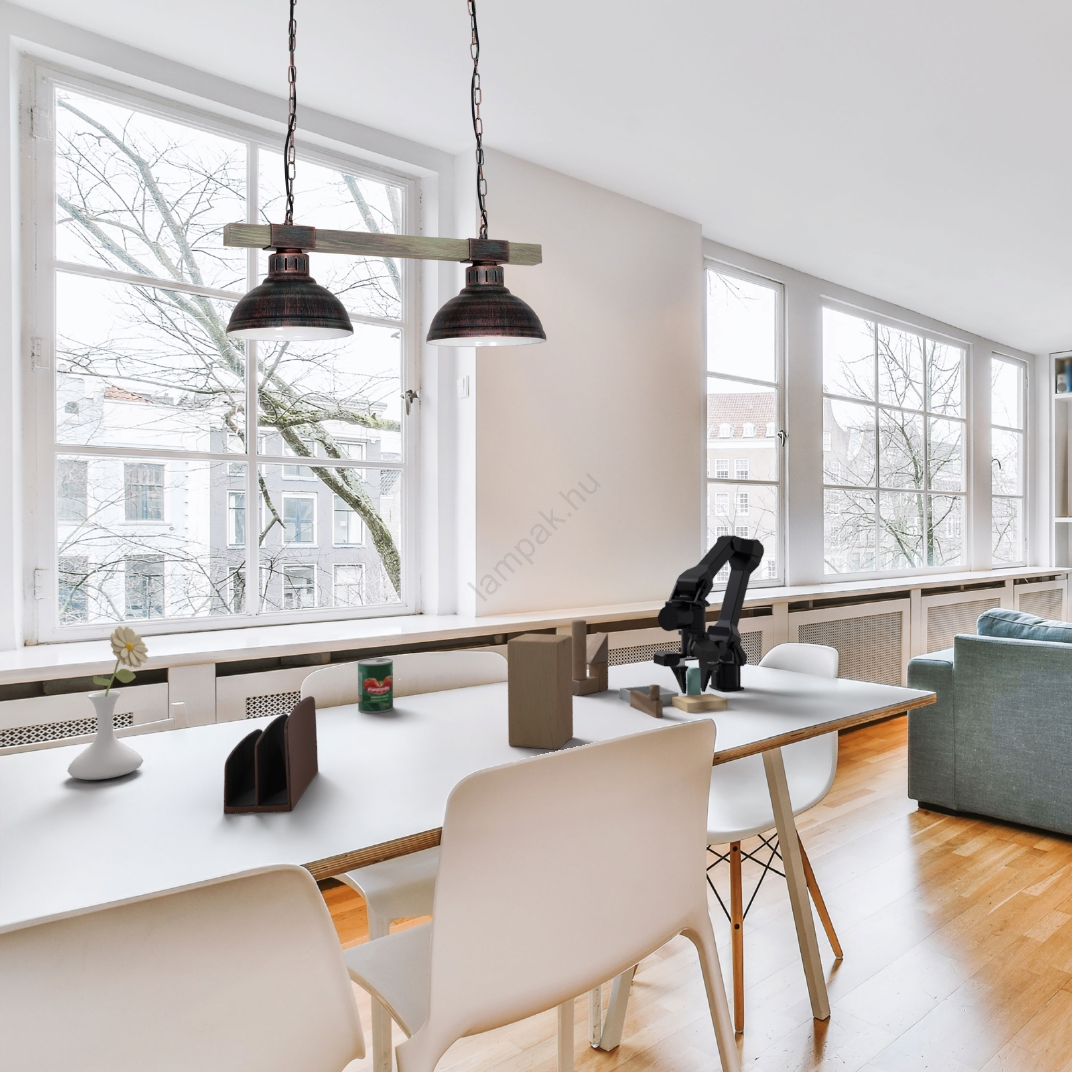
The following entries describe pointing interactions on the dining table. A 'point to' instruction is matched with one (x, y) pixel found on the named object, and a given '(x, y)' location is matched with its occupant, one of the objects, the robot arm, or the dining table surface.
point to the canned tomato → (375, 685)
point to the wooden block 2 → (588, 660)
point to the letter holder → (273, 764)
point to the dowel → (693, 681)
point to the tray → (664, 693)
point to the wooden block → (540, 691)
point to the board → (699, 703)
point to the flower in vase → (111, 717)
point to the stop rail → (648, 701)
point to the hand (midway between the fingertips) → (693, 692)
